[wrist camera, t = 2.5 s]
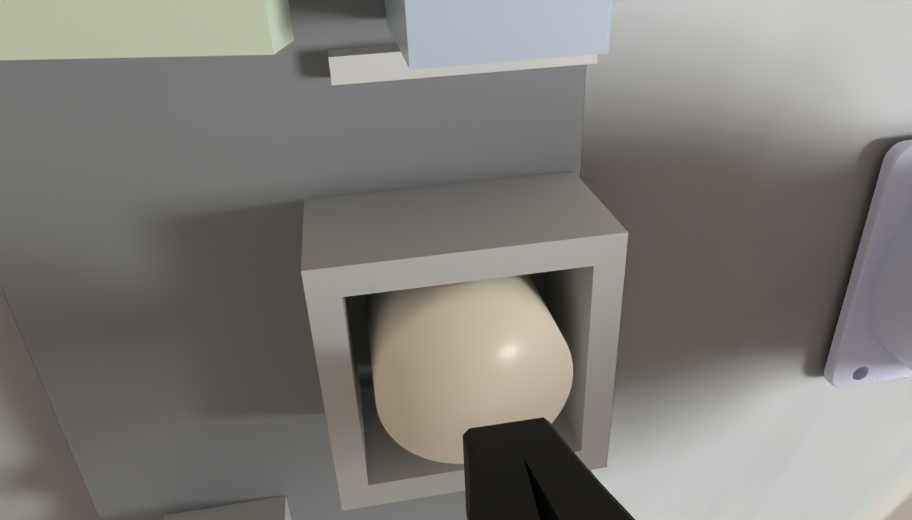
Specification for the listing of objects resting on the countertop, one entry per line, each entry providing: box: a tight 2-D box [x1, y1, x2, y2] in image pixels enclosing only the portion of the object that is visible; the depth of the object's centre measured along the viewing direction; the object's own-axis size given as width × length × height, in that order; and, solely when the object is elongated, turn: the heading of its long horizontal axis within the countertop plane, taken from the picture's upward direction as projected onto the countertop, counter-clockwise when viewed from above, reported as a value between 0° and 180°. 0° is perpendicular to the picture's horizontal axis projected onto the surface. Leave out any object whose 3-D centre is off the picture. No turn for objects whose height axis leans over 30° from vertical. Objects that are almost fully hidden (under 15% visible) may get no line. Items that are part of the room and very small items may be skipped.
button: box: [366, 274, 573, 464], centre depth 14 cm, size 4×4×3 cm
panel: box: [0, 0, 629, 520], centre depth 16 cm, size 12×30×5 cm, turn 2°
